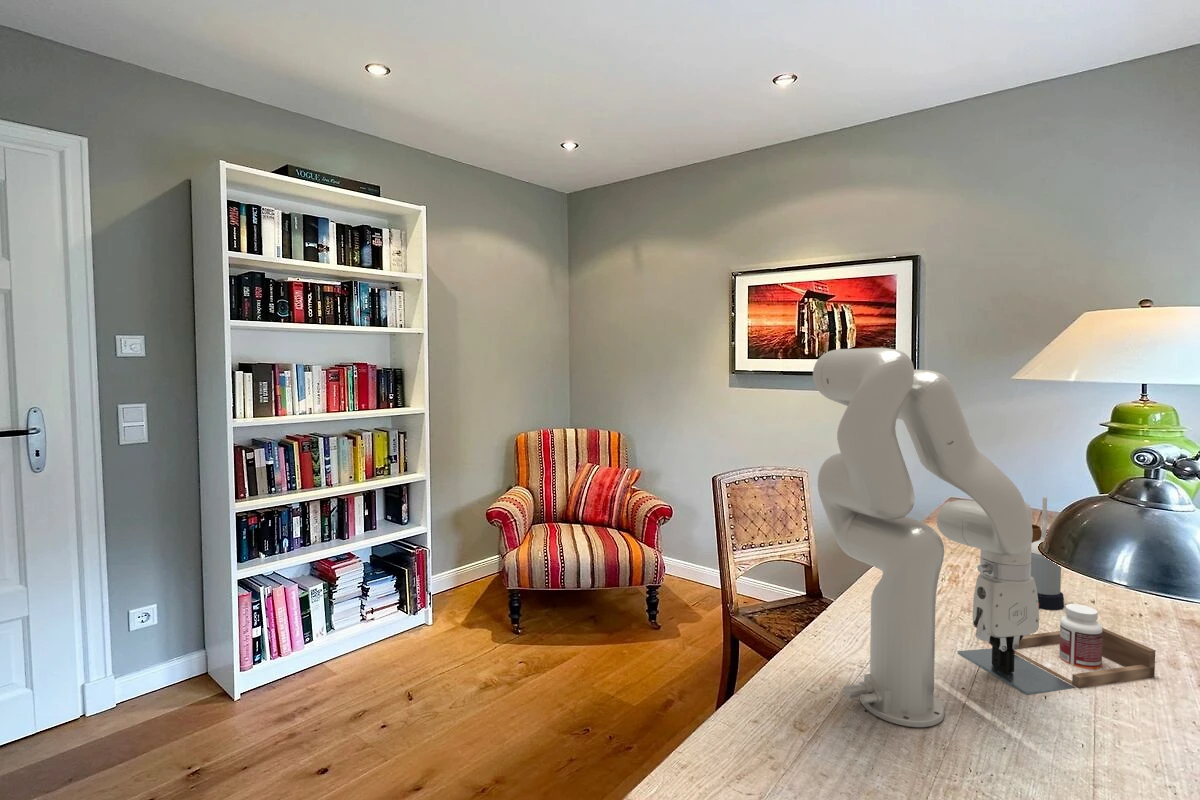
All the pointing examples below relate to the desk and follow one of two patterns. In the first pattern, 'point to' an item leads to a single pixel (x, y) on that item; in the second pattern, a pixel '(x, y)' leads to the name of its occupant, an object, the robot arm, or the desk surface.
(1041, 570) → the humidifier
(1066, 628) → the pill bottle
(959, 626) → the desk surface
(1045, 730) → the desk surface
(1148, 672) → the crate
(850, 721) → the desk surface
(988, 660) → the metal panel
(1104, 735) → the desk surface
